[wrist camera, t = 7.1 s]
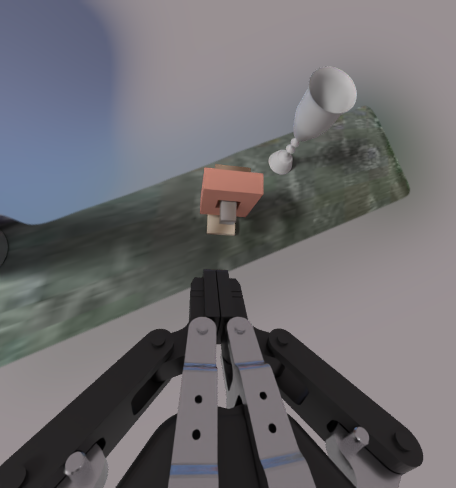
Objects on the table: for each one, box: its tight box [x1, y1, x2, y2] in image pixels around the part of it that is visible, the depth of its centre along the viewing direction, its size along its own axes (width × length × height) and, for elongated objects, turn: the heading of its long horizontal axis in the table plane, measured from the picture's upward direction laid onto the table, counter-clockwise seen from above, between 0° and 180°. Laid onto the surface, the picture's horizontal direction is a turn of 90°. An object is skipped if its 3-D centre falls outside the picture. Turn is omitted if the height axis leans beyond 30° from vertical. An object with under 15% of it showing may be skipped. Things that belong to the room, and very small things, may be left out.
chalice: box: [269, 66, 357, 174], centre depth 39 cm, size 7×7×18 cm
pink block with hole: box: [200, 168, 263, 217], centre depth 36 cm, size 8×3×10 cm, turn 89°
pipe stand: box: [207, 164, 251, 236], centre depth 37 cm, size 5×7×12 cm
